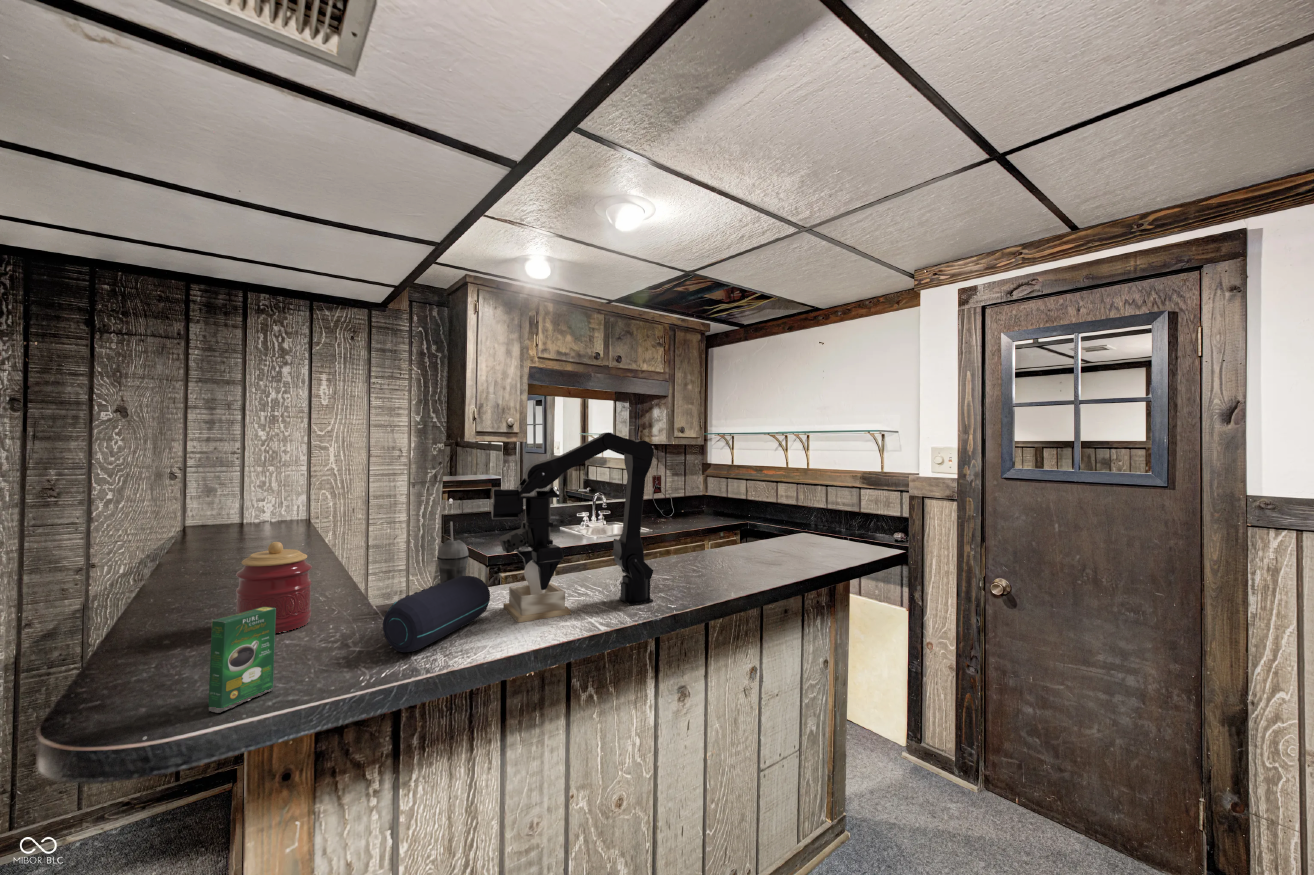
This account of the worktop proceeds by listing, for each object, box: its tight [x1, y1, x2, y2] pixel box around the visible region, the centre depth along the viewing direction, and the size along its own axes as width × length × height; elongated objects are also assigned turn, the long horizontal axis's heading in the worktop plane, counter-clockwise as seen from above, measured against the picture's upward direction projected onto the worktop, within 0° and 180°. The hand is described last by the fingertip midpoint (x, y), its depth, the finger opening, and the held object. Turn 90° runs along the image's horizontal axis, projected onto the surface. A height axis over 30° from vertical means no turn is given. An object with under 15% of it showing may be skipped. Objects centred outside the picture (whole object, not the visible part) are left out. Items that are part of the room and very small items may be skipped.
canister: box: [235, 541, 313, 633], centre depth 114 cm, size 13×13×18 cm
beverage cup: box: [436, 521, 470, 584], centre depth 130 cm, size 7×7×20 cm
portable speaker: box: [382, 575, 491, 653], centre depth 110 cm, size 25×10×10 cm, turn 165°
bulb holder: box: [503, 581, 572, 623], centre depth 126 cm, size 12×12×5 cm
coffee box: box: [208, 607, 276, 708], centre depth 81 cm, size 8×3×13 cm, turn 163°
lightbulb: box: [523, 560, 545, 595], centre depth 126 cm, size 6×6×11 cm
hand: (537, 584), depth 126 cm, fingers open, 9 cm apart
